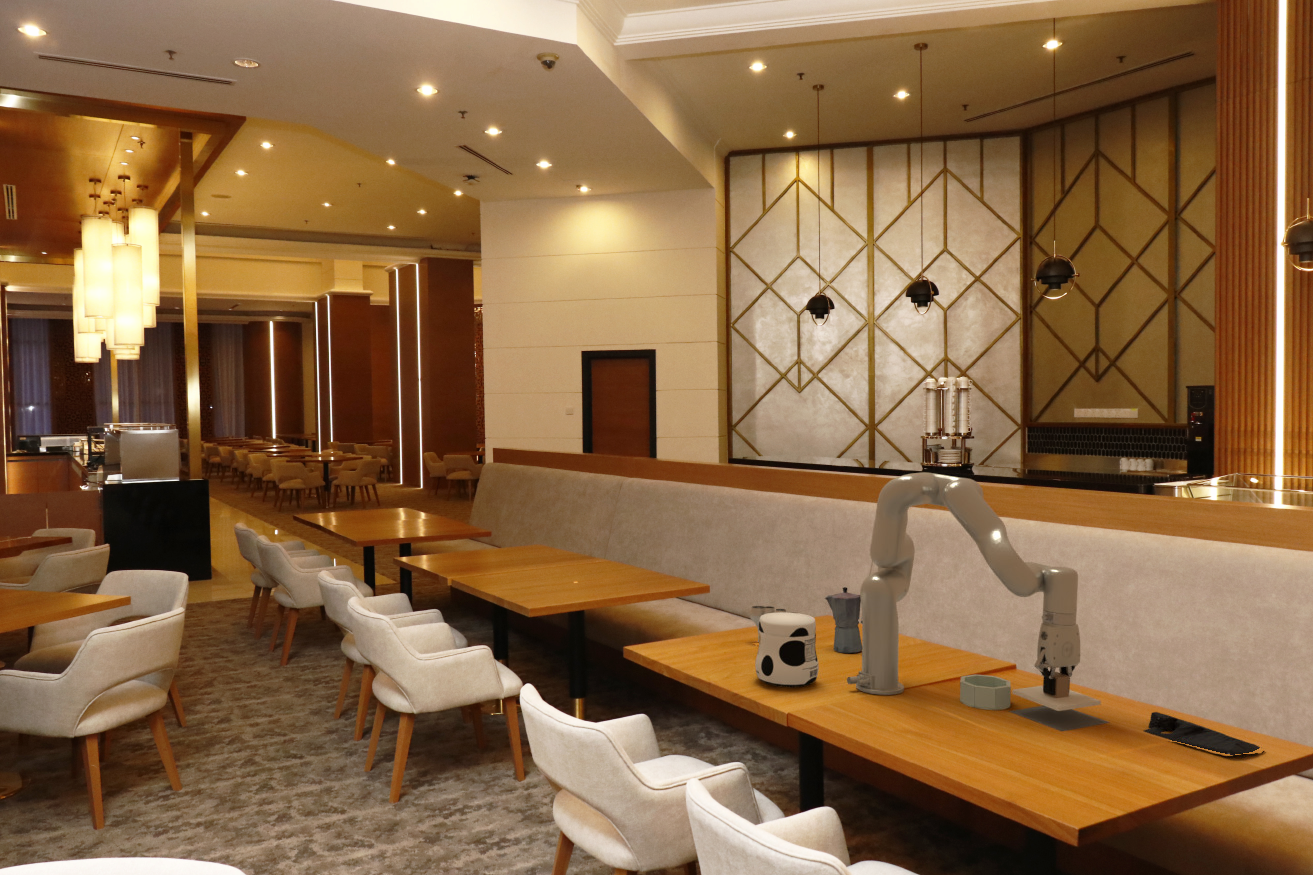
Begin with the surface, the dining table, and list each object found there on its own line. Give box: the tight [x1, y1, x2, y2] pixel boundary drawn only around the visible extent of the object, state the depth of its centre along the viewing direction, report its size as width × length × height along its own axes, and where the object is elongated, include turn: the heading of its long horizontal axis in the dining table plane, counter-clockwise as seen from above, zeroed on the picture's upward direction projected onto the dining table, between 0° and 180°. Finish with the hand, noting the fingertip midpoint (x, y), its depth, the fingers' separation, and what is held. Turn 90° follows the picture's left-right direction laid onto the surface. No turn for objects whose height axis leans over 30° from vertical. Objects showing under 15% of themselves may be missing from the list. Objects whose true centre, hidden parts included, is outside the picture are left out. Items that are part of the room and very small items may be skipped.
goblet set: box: [749, 605, 796, 642], centre depth 289 cm, size 28×6×13 cm, turn 30°
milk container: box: [755, 611, 820, 688], centre depth 254 cm, size 17×17×18 cm
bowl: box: [959, 674, 1012, 711], centre depth 235 cm, size 12×12×6 cm
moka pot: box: [824, 586, 862, 654], centre depth 290 cm, size 10×15×20 cm, turn 82°
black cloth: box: [1143, 711, 1261, 755], centre depth 209 cm, size 15×22×5 cm
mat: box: [1008, 705, 1111, 732], centre depth 224 cm, size 16×16×1 cm
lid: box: [1011, 671, 1102, 711], centre depth 224 cm, size 14×14×6 cm
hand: (1056, 691), depth 224 cm, fingers closed on lid, 4 cm apart
